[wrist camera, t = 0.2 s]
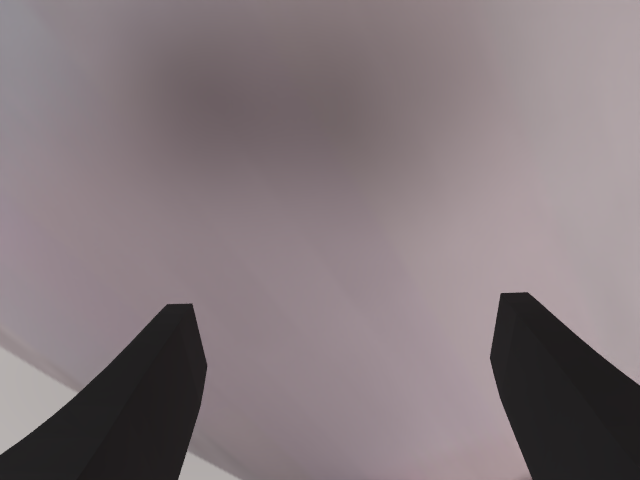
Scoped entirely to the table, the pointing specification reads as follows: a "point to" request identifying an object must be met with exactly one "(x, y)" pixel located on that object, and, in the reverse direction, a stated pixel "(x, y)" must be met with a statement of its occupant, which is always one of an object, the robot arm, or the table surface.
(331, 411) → the table surface
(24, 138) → the table surface
